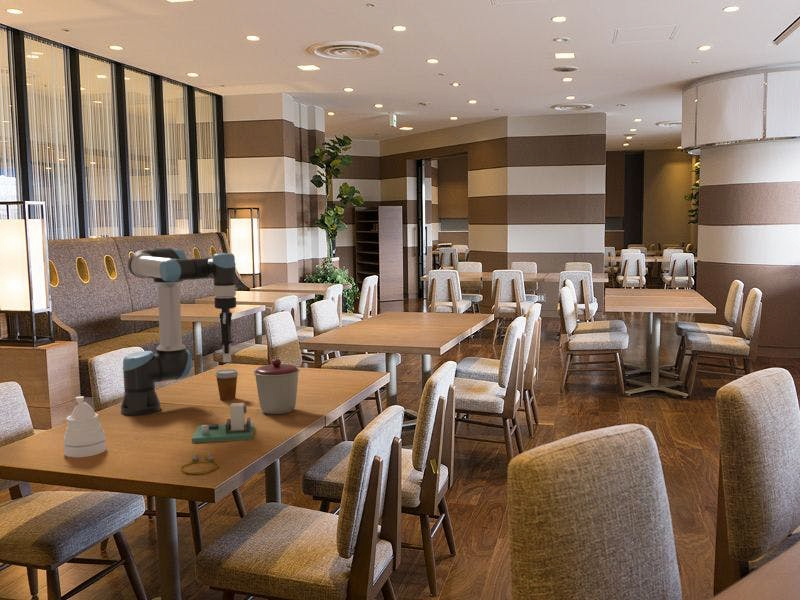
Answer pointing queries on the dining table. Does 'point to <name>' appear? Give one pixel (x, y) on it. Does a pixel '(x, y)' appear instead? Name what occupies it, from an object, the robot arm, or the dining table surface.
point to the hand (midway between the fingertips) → (227, 361)
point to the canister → (277, 387)
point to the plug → (237, 416)
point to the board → (222, 432)
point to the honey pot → (83, 432)
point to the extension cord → (195, 458)
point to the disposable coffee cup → (227, 384)
